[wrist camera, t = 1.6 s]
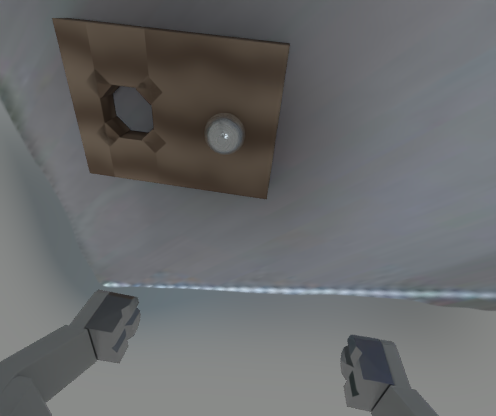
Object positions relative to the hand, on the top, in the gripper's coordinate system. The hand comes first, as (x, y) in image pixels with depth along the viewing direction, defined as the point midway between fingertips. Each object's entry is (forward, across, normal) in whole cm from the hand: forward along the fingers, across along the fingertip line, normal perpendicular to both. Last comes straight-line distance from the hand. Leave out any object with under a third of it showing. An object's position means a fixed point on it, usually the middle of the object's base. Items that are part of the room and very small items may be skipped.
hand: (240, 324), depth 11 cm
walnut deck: (+25, +11, -1) cm, 27 cm away
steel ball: (+20, +5, -1) cm, 21 cm away
